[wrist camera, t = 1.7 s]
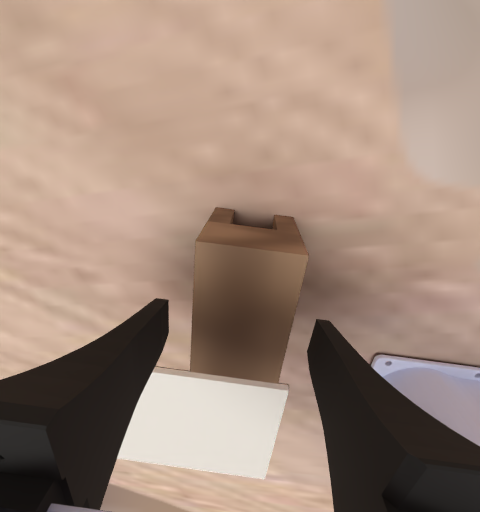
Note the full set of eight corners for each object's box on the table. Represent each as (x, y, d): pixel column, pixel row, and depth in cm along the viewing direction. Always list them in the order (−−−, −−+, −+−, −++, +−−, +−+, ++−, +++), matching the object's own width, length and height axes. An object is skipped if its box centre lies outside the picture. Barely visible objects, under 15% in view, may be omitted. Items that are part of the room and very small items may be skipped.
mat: (288, 384, 23) (288, 390, 23) (264, 472, 29) (264, 479, 28) (87, 357, 23) (83, 362, 23) (104, 450, 29) (101, 456, 29)
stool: (293, 217, 17) (308, 255, 11) (272, 317, 20) (277, 383, 15) (216, 207, 17) (195, 241, 12) (208, 308, 20) (189, 371, 15)
